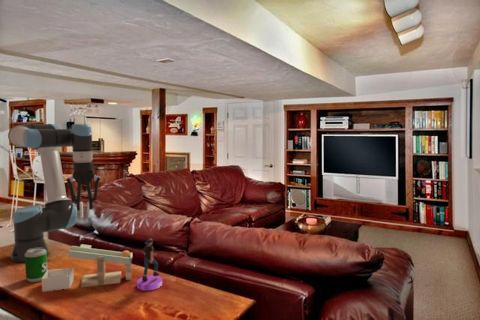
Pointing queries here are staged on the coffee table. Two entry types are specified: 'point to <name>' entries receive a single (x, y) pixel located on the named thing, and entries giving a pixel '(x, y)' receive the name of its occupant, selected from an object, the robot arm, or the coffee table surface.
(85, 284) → the stand
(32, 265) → the soda can
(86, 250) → the lever
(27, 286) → the coffee table surface
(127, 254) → the ball
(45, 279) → the dish
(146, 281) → the figurine
